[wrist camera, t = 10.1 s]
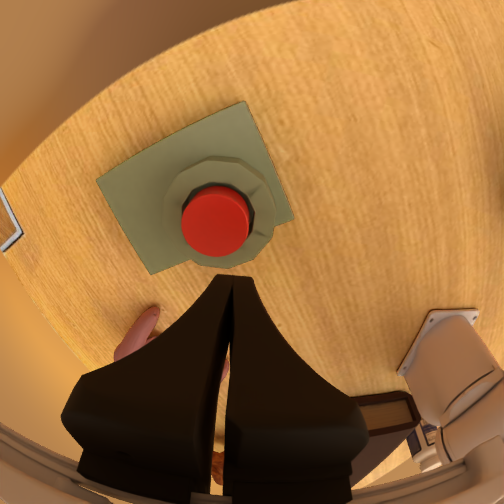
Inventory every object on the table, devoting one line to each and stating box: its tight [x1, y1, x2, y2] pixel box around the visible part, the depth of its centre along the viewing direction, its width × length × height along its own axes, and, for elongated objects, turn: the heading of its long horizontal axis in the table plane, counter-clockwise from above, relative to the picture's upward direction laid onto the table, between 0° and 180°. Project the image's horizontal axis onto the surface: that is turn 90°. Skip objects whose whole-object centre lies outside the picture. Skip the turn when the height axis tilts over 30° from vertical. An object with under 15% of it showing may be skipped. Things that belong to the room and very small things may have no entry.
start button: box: [181, 186, 249, 257], centre depth 16 cm, size 4×4×2 cm
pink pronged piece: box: [114, 307, 229, 382], centre depth 23 cm, size 10×5×7 cm, turn 42°
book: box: [349, 392, 421, 488], centre depth 33 cm, size 28×20×6 cm
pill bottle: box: [406, 416, 441, 473], centre depth 31 cm, size 5×5×10 cm
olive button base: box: [96, 101, 295, 275], centre depth 18 cm, size 11×9×4 cm
